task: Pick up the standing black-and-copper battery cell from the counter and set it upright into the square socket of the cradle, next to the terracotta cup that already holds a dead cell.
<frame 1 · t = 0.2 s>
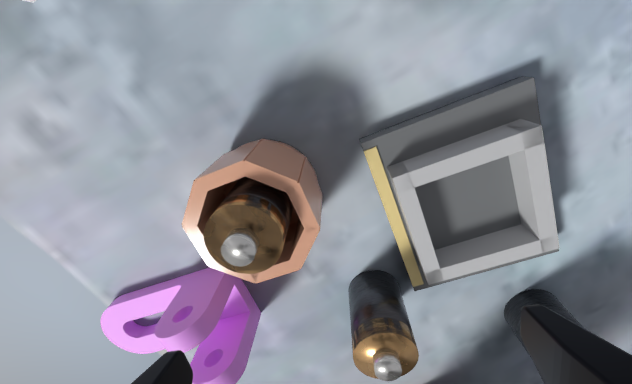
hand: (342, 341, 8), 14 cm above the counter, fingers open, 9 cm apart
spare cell: (530, 309, 25), on the counter
dead cell: (266, 193, 21), point 1 cm above the counter, touching cup
cell: (373, 291, 25), on the counter
cradle: (458, 193, 21), on the counter
bracket: (180, 304, 27), on the counter
cup: (268, 188, 22), on the counter
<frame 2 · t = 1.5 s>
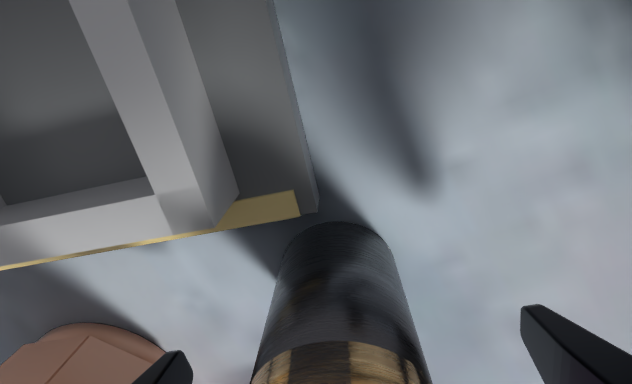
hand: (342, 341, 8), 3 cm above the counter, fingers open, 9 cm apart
cell: (337, 272, 11), on the counter
cradle: (76, 75, 9), on the counter
cup: (111, 383, 14), on the counter
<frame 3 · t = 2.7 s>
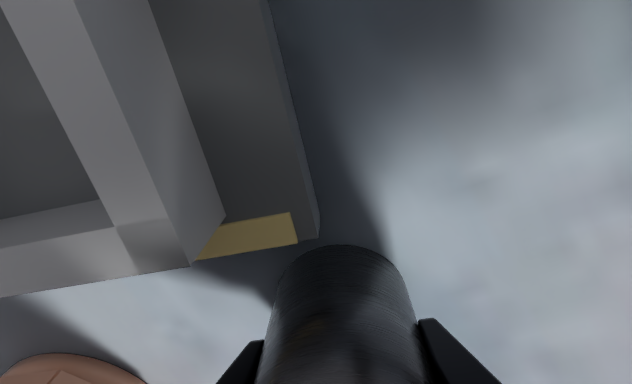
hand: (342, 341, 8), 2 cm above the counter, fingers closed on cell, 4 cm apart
cell: (341, 300, 10), on the counter, touching gripper
cradle: (34, 76, 8), on the counter
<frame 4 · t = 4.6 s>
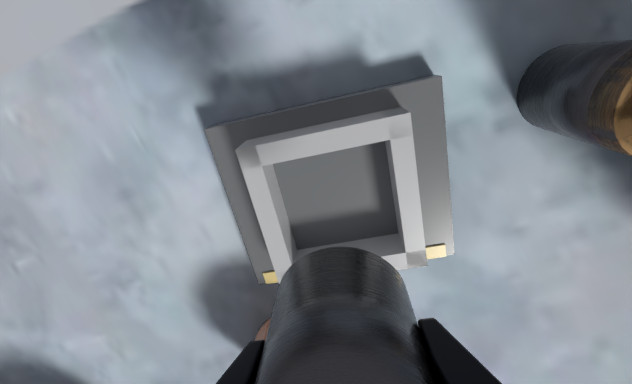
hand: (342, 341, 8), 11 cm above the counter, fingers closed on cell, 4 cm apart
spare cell: (559, 88, 16), on the counter
cell: (341, 302, 10), point 9 cm above the counter, touching gripper
cradle: (336, 187, 18), on the counter
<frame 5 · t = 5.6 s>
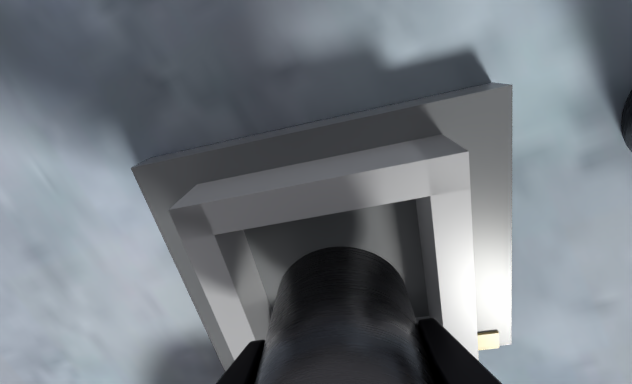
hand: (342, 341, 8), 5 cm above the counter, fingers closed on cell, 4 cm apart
cell: (341, 302, 10), point 3 cm above the counter, touching gripper
cradle: (337, 246, 13), on the counter
when the fingers open (4 cm above the counter, at t = 6.5 s): cell drops 1 cm, resting on cradle.
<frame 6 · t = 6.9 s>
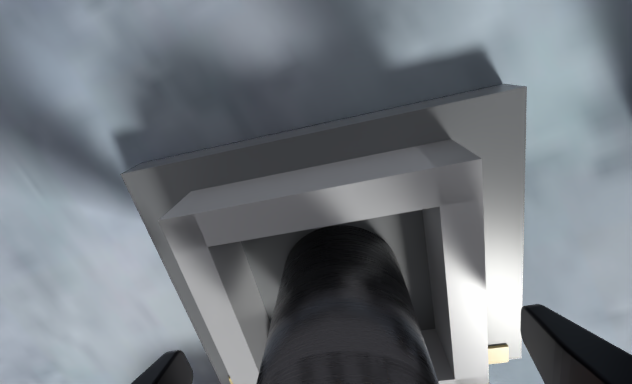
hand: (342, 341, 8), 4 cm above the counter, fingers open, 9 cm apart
cell: (341, 276, 11), point 1 cm above the counter, touching cradle
cradle: (338, 255, 12), on the counter
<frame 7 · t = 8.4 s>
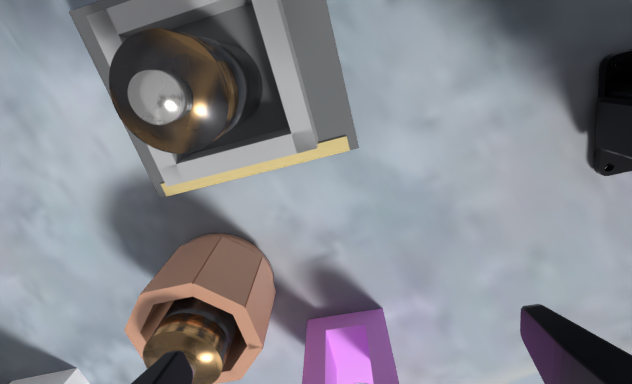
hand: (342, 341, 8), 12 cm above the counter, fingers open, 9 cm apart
dead cell: (220, 284, 21), point 1 cm above the counter, touching cup
cell: (223, 85, 16), point 1 cm above the counter, touching cradle
cradle: (229, 82, 17), on the counter
bracket: (359, 372, 26), on the counter
cup: (224, 276, 22), on the counter
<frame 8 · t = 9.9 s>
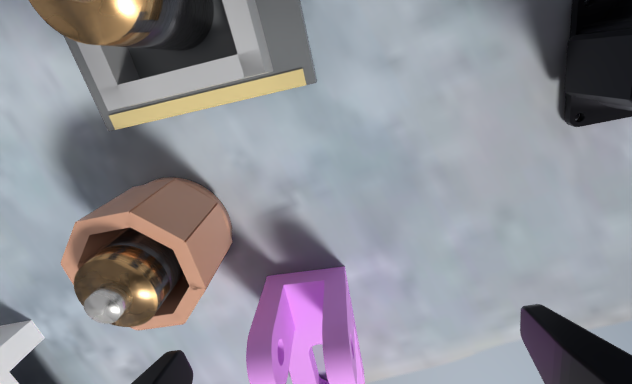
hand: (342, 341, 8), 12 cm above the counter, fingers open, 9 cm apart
dead cell: (175, 231, 20), point 1 cm above the counter, touching cup
cell: (172, 5, 15), point 1 cm above the counter, touching cradle
cradle: (182, 8, 16), on the counter
bracket: (321, 336, 25), on the counter
cup: (180, 226, 21), on the counter
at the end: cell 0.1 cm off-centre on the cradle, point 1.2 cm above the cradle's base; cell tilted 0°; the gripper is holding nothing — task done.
